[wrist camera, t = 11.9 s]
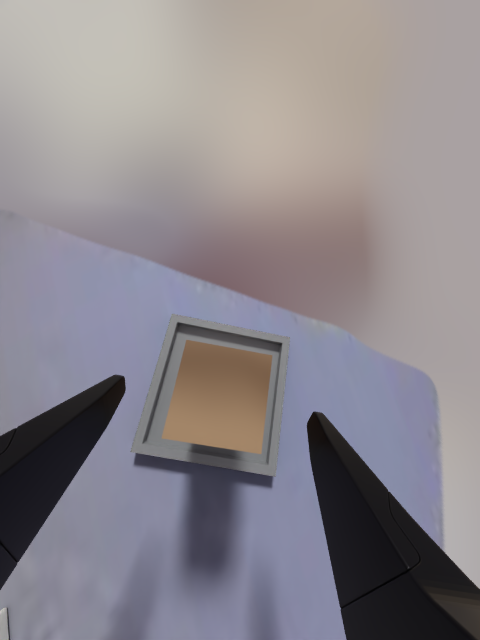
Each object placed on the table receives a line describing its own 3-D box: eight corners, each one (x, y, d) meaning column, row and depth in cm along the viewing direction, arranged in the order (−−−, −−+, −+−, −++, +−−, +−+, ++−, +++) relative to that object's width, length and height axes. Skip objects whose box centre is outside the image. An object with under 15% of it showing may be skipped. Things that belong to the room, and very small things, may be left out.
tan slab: (248, 415, 21) (289, 458, 9) (182, 403, 21) (130, 433, 9) (254, 372, 23) (297, 359, 10) (192, 361, 22) (160, 334, 10)
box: (271, 470, 21) (275, 476, 19) (136, 447, 20) (130, 452, 19) (285, 340, 25) (290, 337, 23) (174, 317, 24) (171, 313, 23)
